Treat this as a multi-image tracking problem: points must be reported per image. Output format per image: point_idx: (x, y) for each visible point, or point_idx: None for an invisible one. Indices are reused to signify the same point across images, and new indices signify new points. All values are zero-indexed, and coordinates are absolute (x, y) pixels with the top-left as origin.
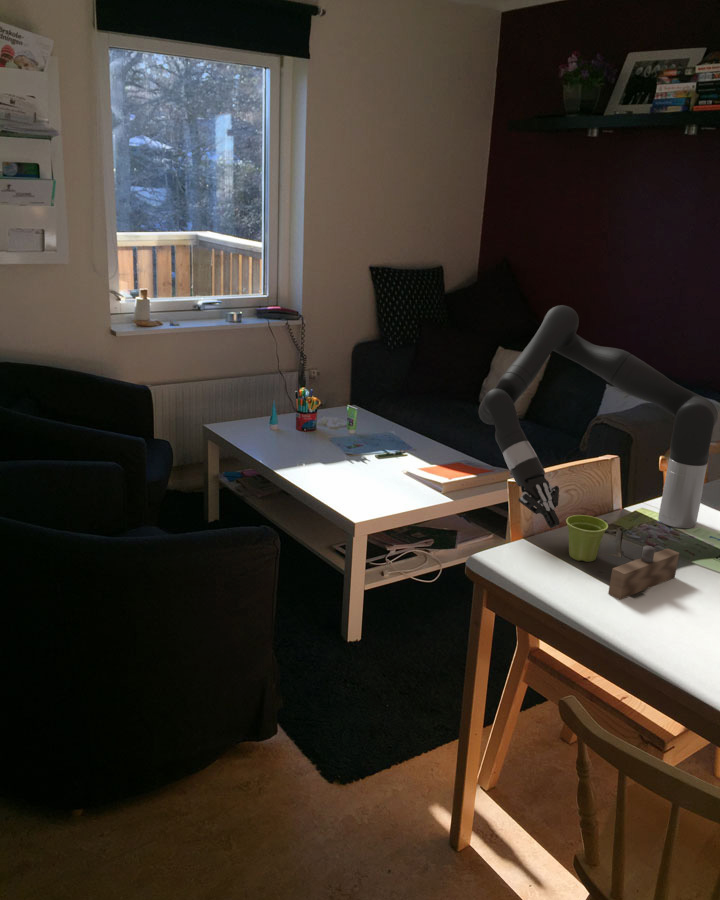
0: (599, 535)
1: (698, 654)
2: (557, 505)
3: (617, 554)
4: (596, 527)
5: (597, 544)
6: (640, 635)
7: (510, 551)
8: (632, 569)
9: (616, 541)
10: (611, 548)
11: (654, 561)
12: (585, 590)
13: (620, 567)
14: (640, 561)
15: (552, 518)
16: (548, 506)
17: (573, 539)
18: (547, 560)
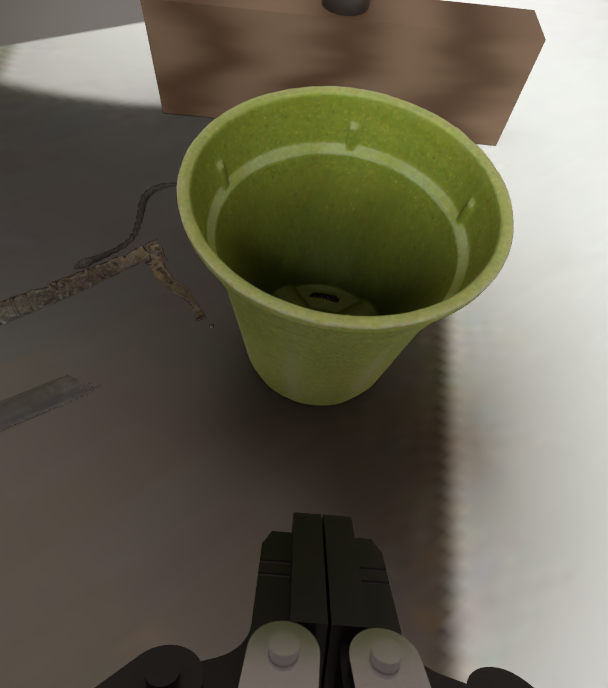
0: (360, 136)
1: None
2: (165, 647)
3: (140, 261)
4: (216, 223)
5: (333, 203)
6: (580, 39)
7: None
8: (471, 7)
9: None
10: (86, 310)
11: None
12: (557, 192)
13: (505, 29)
14: (378, 11)
15: (356, 564)
16: (354, 683)
17: (438, 286)
18: (530, 422)
